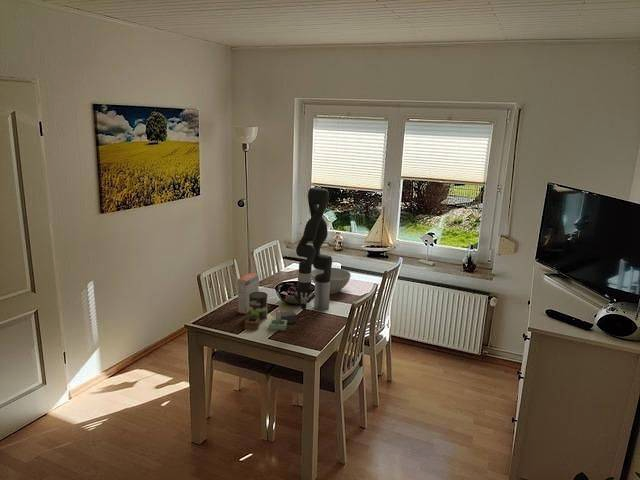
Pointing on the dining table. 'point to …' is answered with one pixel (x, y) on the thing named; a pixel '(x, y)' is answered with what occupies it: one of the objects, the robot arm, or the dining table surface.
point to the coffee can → (258, 305)
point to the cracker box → (246, 291)
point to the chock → (288, 316)
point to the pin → (278, 316)
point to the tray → (278, 325)
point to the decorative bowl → (334, 278)
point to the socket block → (252, 323)
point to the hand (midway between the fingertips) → (303, 309)
